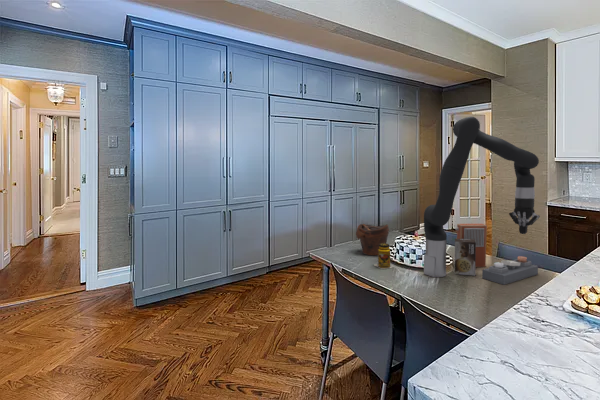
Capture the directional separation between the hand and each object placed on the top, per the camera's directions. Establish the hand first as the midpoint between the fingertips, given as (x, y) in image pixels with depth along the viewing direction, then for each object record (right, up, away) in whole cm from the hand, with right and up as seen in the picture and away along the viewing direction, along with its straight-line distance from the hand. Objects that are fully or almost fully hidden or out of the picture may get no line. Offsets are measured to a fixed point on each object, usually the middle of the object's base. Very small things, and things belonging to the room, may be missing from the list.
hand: (523, 233), depth 158 cm
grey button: (-16, -15, -7) cm, 23 cm away
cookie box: (-25, -20, +4) cm, 32 cm away
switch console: (-7, -20, -2) cm, 21 cm away
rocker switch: (-8, -14, -3) cm, 16 cm away
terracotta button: (0, -13, +1) cm, 13 cm away
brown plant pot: (-61, -16, +45) cm, 78 cm away
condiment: (-61, -19, +18) cm, 67 cm away
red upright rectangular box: (-17, -18, +15) cm, 29 cm away
